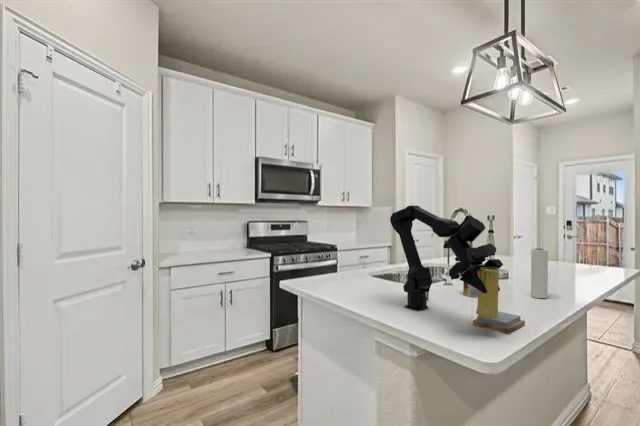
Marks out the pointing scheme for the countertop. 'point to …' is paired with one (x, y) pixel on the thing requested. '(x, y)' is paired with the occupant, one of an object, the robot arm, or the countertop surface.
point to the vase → (488, 293)
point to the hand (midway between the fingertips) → (492, 291)
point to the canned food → (470, 290)
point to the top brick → (501, 319)
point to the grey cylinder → (539, 273)
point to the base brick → (499, 328)
